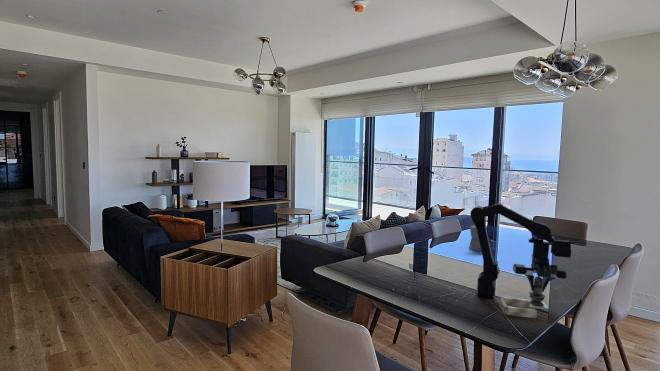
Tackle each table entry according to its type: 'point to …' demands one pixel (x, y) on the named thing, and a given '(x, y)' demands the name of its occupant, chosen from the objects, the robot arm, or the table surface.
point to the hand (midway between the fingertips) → (537, 291)
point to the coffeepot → (474, 239)
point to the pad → (539, 306)
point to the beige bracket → (516, 310)
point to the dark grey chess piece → (537, 292)
